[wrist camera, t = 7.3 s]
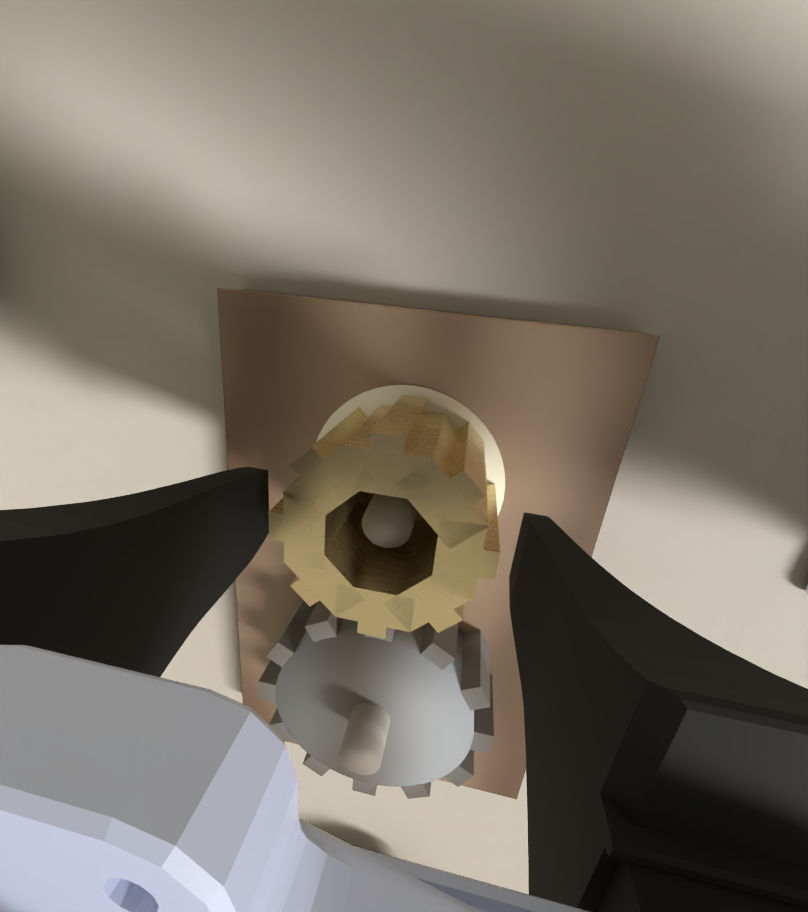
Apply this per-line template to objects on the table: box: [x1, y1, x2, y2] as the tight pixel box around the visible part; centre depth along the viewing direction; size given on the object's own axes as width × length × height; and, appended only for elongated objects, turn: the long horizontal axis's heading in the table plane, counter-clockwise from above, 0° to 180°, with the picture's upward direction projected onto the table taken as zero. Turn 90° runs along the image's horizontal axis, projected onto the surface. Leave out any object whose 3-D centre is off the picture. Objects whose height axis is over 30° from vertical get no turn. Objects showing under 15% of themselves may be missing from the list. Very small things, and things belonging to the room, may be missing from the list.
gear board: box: [217, 288, 659, 799], centre depth 15 cm, size 13×20×6 cm, turn 175°
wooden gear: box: [268, 395, 500, 639], centre depth 12 cm, size 6×6×4 cm
